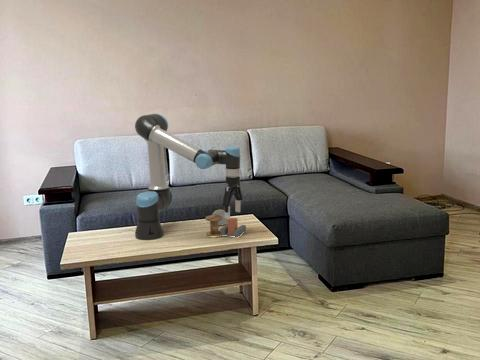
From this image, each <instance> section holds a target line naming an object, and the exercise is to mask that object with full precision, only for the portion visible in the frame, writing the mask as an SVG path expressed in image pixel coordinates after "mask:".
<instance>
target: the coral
mask: <svg viewBox="0 0 480 360" xmlns="http://www.w3.org/2000/svg"><path fill="white" fill-rule="evenodd" d="M211 215H220V216H222V220H220V221H218V225H222V224H224V225H226V224H227V223H228V219H229V218H225V209H217V210H214V211H213V212H212V214H211ZM222 226H223V225H222Z"/></svg>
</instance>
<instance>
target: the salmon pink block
mask: <svg viewBox="0 0 480 360" xmlns="http://www.w3.org/2000/svg"><path fill="white" fill-rule="evenodd" d="M227 225H228V234H233V235H234V230H235V229H237V228H238V227H239V225H238V218H237V217H230V218H228V221H227Z"/></svg>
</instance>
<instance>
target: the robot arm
mask: <svg viewBox="0 0 480 360" xmlns="http://www.w3.org/2000/svg"><path fill="white" fill-rule="evenodd" d="M134 129H135V132H136V134H138V136H140V137H141V138H143V140H144V141H146V145H147V155H148V165H149V166H148V167H149V179H150V180H149V181H150V186H148V187H147V190H148V191H144V192H140V193H139V194H137V196H136V201H135V202H136V203H135V204H136V217H137V224H136V227H135V232H134V233H135V236H134V237H135V239H139V240H143V241H144V240H146V241H147V240H157V239H160V238H162V237H163V236H164V230H163V226H162V224H161V221H160V213H161V212H163V211H166V210H167V209H169V208H170V207H171V205H172V204H173V202H174V194H173V193H172V191H171V190H170V186H169V185H168V184H167V178H166V177H167V176H166V164H165V148H166V149H168V150H169V151H172V152H173V153H175V154H177V155H179V156H181V157H183V158H185V159H187V160H189V161H190V162H192V163H194V164H195V166H196V167H197V168H198V169H200V170H205V169H210V168H211V167H213V166H215V165H225V184H227V185H228V186H226V187H224V194H223V195H224V196H223V201H222V206H223V207H224V211H225V218H228V219H229V218H231V206H230V204H231V201H232V197H233V196H234V198H235V201H234V202H235V204H234V205H235V207H234V208H235V211H234V212H235V213H241V201H242V200H243V193H242V189H241V176H240V175H241V174H240V173H241V148H240V147H238V146H227V147H225V150H224V149H223V150H221V149H212V148H211V149H205V150H203V149H200V148H199V147H197V146H195V145H193V144H191V143H189V142H188V141H186V140H184V139H182V138H179V137H178V136H176V135H174V134H172V133H171V132H168V129H169V123H168V120H167V118H166V116H164V115H162V114H160V113H152V114H151V113H150V114H143V115H141V116H139V117H138V118H137V119H136V121H135V123H134Z"/></svg>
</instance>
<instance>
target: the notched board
mask: <svg viewBox="0 0 480 360" xmlns="http://www.w3.org/2000/svg"><path fill="white" fill-rule="evenodd" d="M220 231H221V234H222V235H227V236H235V237H238V236H240V235H241V234H242V233H243V232H245V231H246V232H247V225H246V224H241V225H240V226H238V228H237V229H235V230H234V235H233V234H228V224H227V225H226V224H225V226H223V227H222V228H220ZM240 237H241V236H240Z"/></svg>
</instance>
